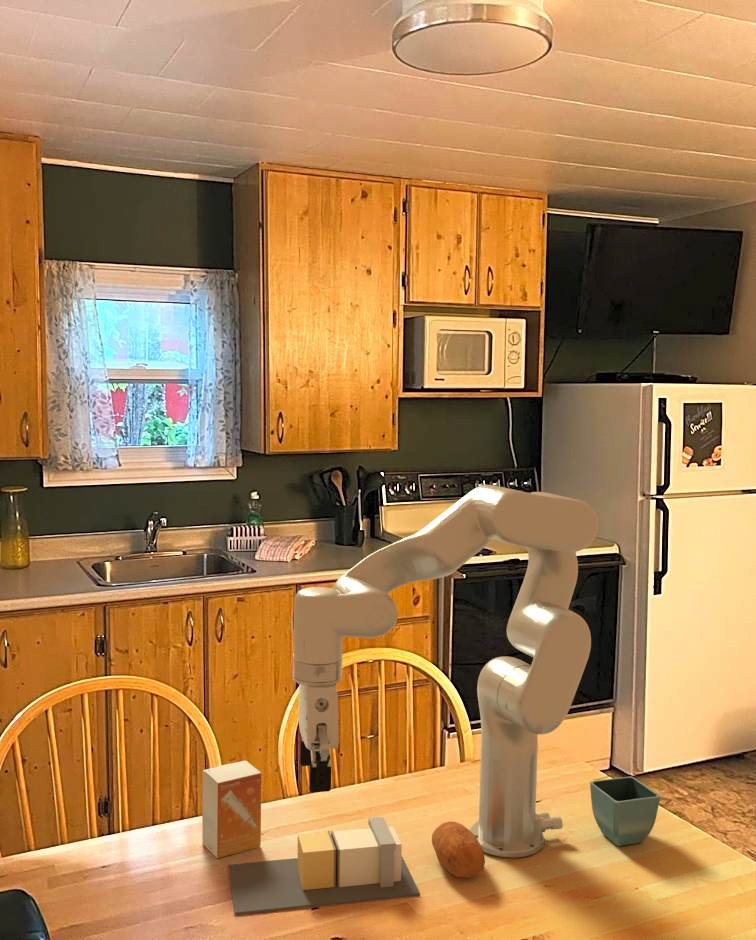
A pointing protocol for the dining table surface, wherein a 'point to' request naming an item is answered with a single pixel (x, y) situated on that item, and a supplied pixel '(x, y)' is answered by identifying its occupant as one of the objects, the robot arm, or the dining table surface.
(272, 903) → the mat
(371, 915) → the dining table surface
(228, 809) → the small box
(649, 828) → the flower pot
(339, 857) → the two-tone stepped block
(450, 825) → the potato
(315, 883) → the stub
